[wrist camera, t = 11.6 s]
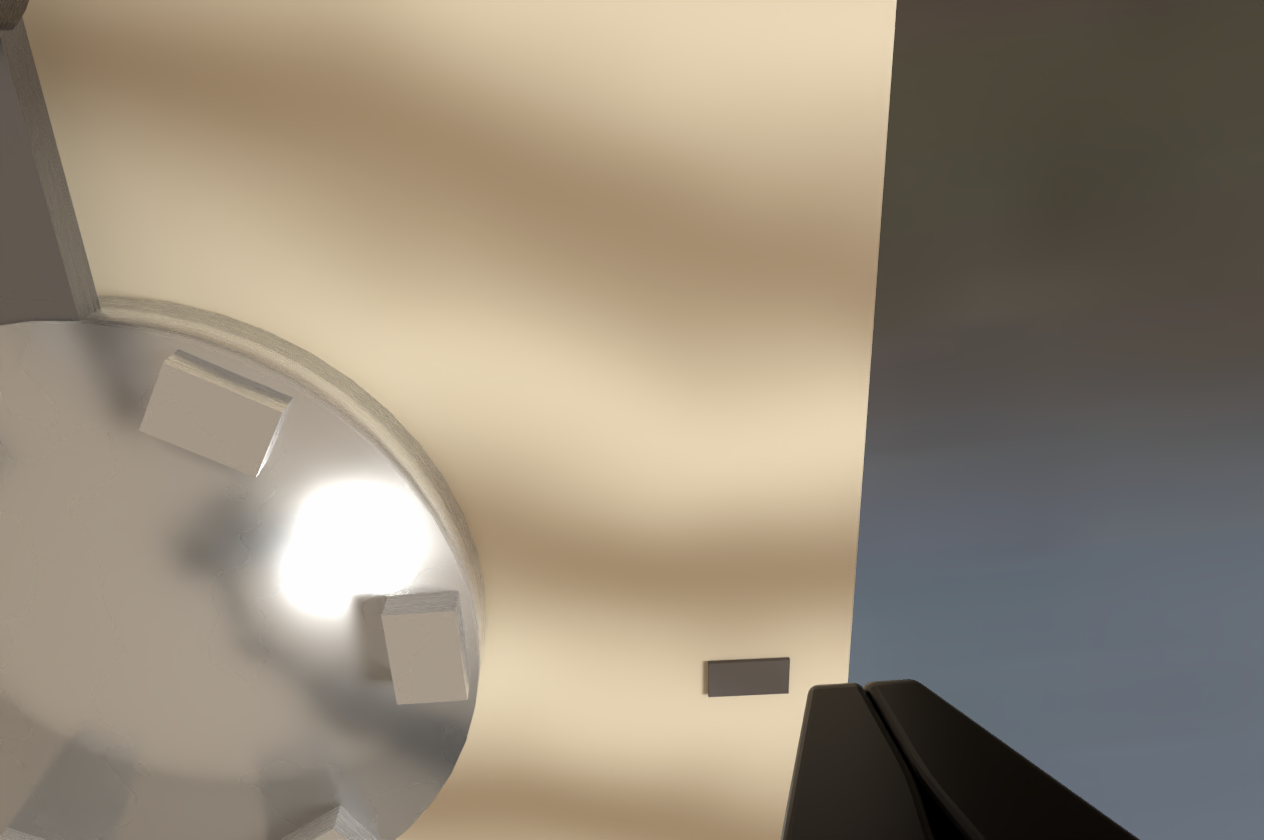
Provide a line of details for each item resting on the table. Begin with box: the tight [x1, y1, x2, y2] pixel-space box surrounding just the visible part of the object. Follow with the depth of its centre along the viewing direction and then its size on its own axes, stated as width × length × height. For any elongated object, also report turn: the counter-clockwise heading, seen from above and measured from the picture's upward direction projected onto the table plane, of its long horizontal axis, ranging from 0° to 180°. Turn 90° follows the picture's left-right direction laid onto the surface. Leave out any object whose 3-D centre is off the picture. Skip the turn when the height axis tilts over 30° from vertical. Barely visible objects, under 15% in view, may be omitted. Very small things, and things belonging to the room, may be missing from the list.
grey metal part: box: [0, 0, 487, 840], centre depth 15 cm, size 18×12×6 cm, turn 3°
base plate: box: [22, 0, 897, 840], centre depth 19 cm, size 23×20×2 cm
